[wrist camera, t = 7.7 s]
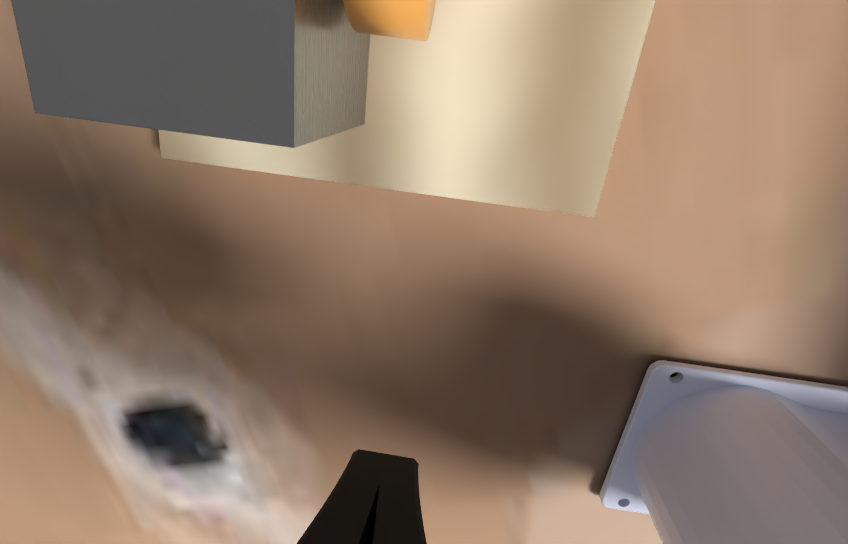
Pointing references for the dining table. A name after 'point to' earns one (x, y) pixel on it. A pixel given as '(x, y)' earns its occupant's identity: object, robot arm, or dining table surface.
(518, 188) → the shaft stand
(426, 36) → the shaft
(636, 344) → the dining table surface
